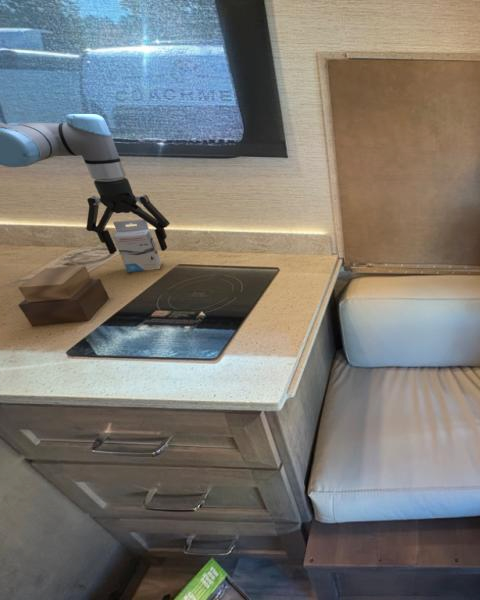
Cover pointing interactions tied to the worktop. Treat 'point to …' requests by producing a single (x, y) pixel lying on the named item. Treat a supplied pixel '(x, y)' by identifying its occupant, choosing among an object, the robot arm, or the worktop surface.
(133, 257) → the ink box
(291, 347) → the worktop surface
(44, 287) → the box stack
